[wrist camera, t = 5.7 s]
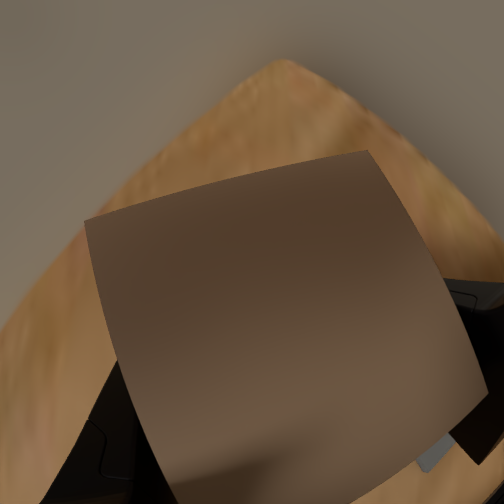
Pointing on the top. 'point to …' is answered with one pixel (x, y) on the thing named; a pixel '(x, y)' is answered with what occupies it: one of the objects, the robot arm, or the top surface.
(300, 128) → the top surface
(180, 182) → the top surface
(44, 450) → the top surface
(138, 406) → the walnut block
